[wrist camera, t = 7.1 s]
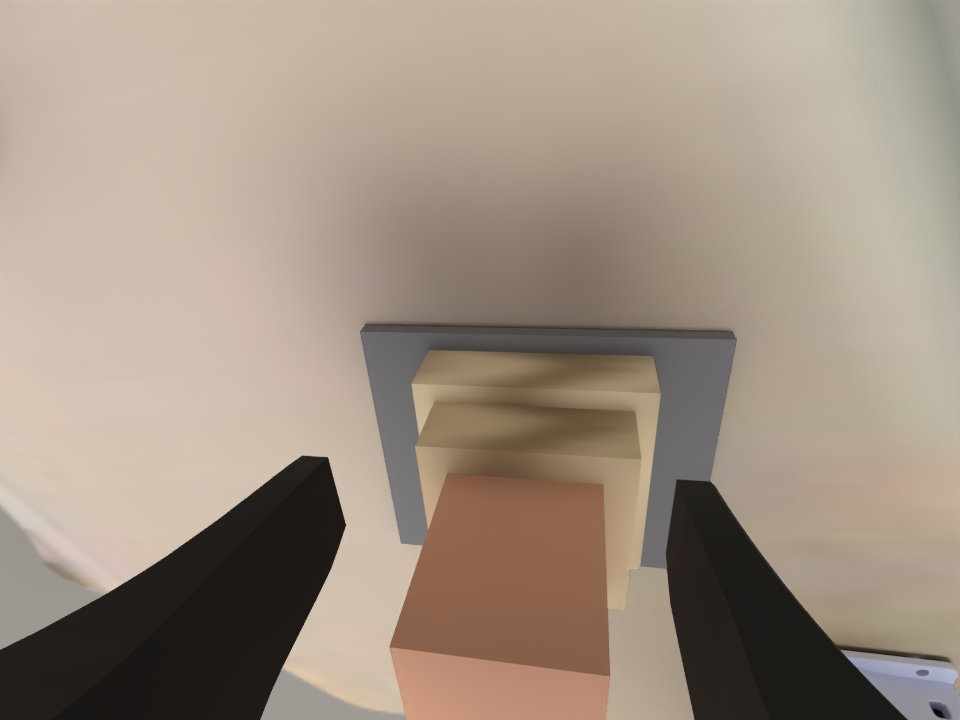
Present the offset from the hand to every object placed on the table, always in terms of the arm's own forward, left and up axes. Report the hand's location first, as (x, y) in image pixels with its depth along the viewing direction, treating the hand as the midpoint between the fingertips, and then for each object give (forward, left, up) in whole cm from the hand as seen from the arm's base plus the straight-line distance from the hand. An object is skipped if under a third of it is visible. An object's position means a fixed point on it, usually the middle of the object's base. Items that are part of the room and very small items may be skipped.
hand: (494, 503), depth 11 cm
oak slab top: (0, +6, -7) cm, 10 cm away
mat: (0, +7, -10) cm, 13 cm away
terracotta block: (0, +6, -5) cm, 8 cm away
